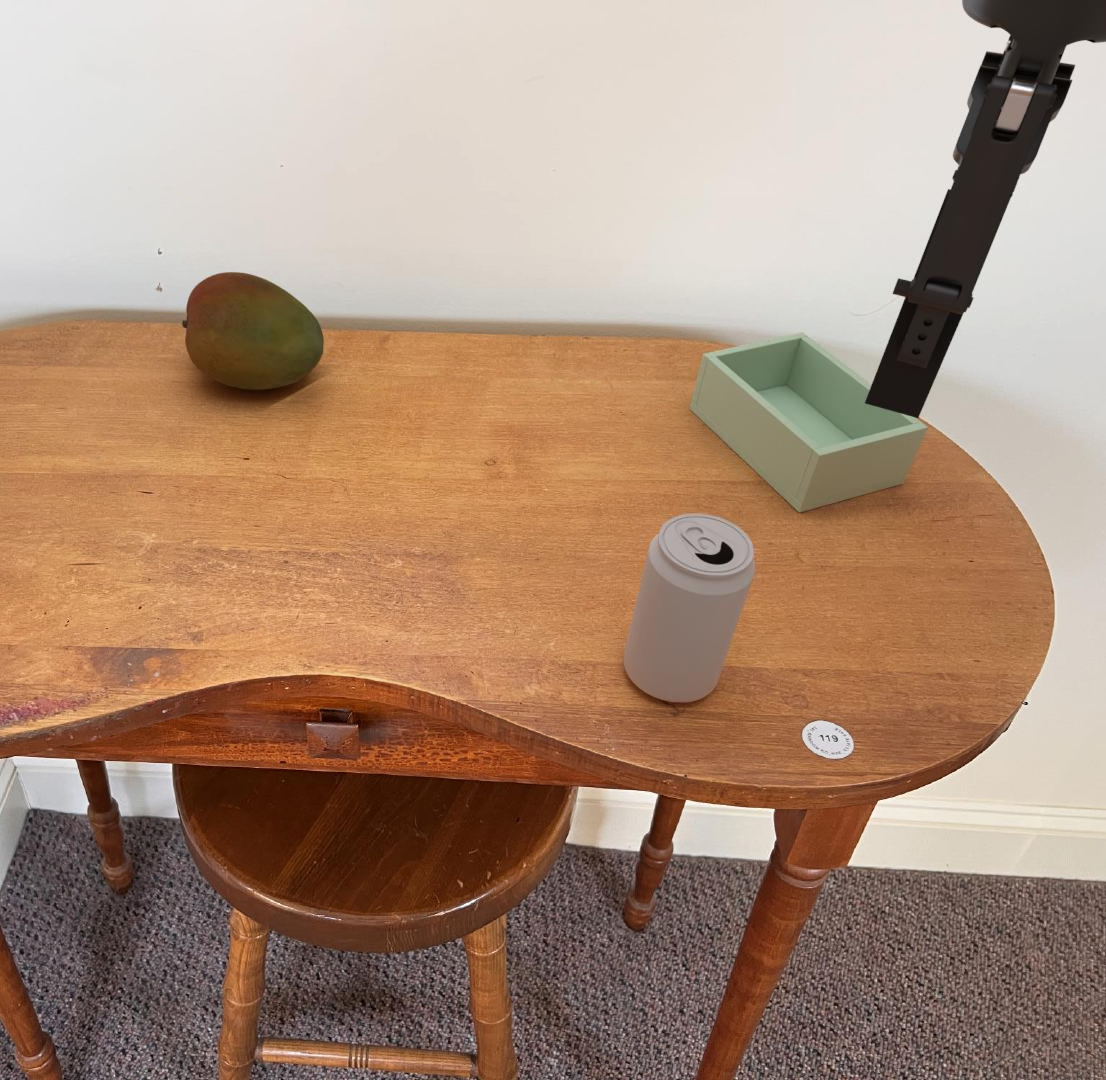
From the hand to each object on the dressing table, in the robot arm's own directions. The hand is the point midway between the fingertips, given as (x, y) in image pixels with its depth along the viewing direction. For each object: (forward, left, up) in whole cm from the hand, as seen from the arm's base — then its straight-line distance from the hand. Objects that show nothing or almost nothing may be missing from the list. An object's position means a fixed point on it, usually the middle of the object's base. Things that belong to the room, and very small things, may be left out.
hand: (912, 349), depth 59 cm
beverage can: (-1, +12, -23) cm, 25 cm away
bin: (+18, -13, -22) cm, 31 cm away
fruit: (+44, +28, -23) cm, 57 cm away
